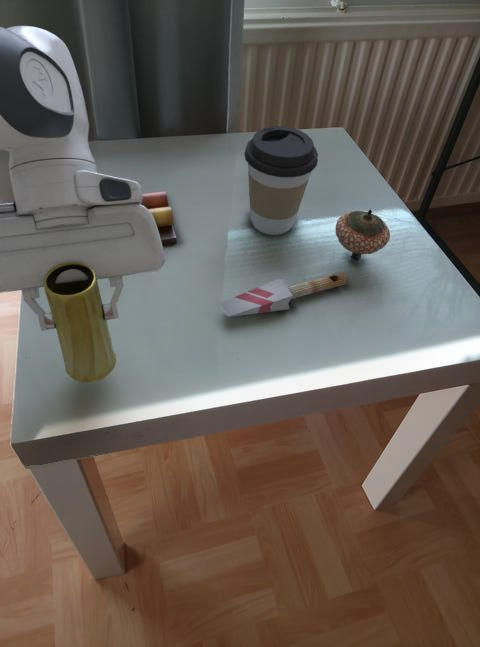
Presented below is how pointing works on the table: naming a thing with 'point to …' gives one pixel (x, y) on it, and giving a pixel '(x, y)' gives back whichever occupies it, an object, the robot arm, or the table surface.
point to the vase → (80, 324)
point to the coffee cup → (278, 176)
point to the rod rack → (161, 214)
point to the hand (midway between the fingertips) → (81, 324)
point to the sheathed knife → (277, 295)
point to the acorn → (362, 233)
